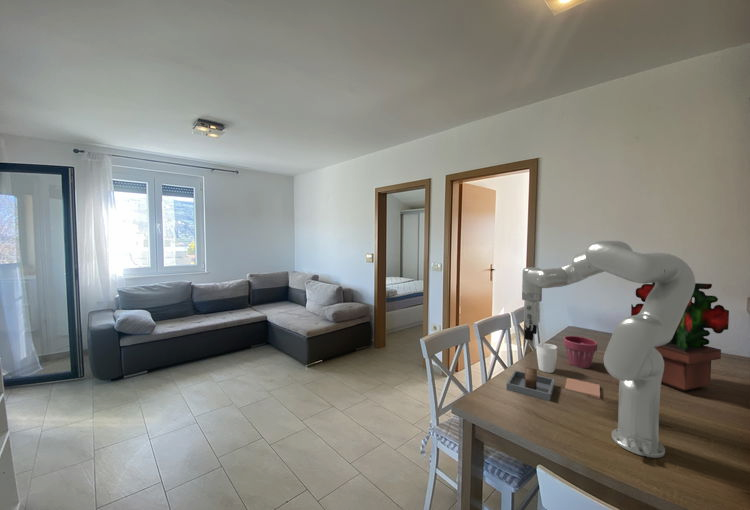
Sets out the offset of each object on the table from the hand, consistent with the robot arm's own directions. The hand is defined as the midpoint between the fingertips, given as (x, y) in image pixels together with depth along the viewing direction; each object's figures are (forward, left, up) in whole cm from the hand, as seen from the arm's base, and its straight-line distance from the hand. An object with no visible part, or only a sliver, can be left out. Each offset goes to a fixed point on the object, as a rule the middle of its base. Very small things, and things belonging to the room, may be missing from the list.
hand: (530, 336), depth 130 cm
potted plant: (+42, -51, -23) cm, 70 cm away
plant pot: (+43, -16, -23) cm, 51 cm away
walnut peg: (0, 0, -22) cm, 22 cm away
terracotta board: (+13, -18, -23) cm, 32 cm away
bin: (0, 0, -23) cm, 23 cm away
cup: (+26, -3, -23) cm, 35 cm away
